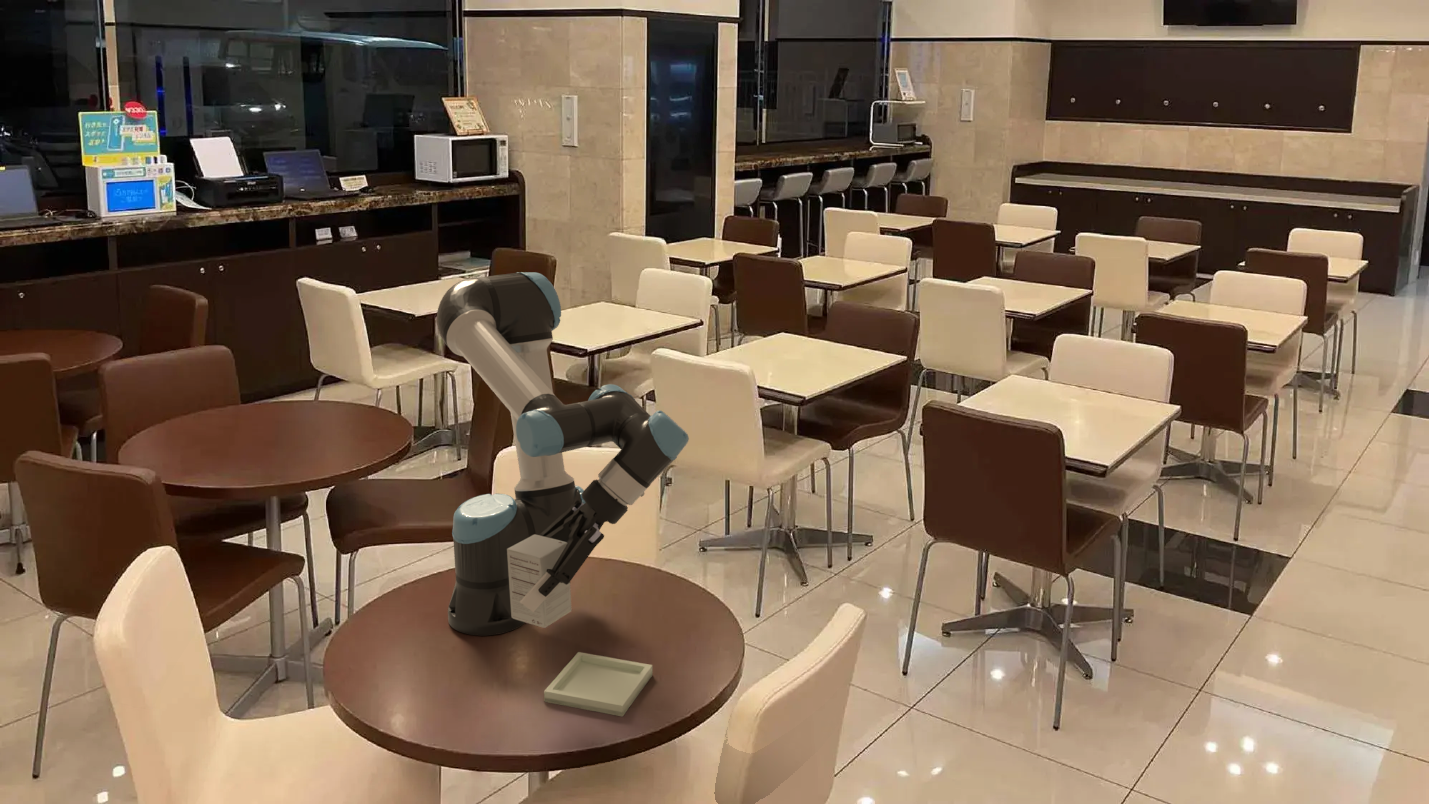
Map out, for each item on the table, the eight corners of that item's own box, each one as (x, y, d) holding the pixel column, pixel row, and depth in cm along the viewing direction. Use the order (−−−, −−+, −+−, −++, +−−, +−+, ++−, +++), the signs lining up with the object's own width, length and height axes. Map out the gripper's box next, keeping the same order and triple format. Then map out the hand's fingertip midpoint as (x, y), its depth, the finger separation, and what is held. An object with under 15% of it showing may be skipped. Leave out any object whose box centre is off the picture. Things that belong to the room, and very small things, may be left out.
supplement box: (538, 601, 201) (535, 532, 197) (572, 611, 197) (569, 541, 193) (509, 618, 195) (505, 547, 191) (544, 629, 191) (540, 557, 187)
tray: (544, 701, 197) (544, 690, 196) (578, 661, 209) (578, 651, 209) (622, 716, 193) (622, 705, 192) (652, 675, 205) (652, 664, 205)
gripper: (645, 530, 185) (550, 635, 185) (614, 483, 206) (528, 578, 205) (611, 502, 182) (514, 609, 182) (583, 457, 203) (496, 553, 202)
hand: (522, 592), depth 194 cm, fingers closed on supplement box, 10 cm apart
